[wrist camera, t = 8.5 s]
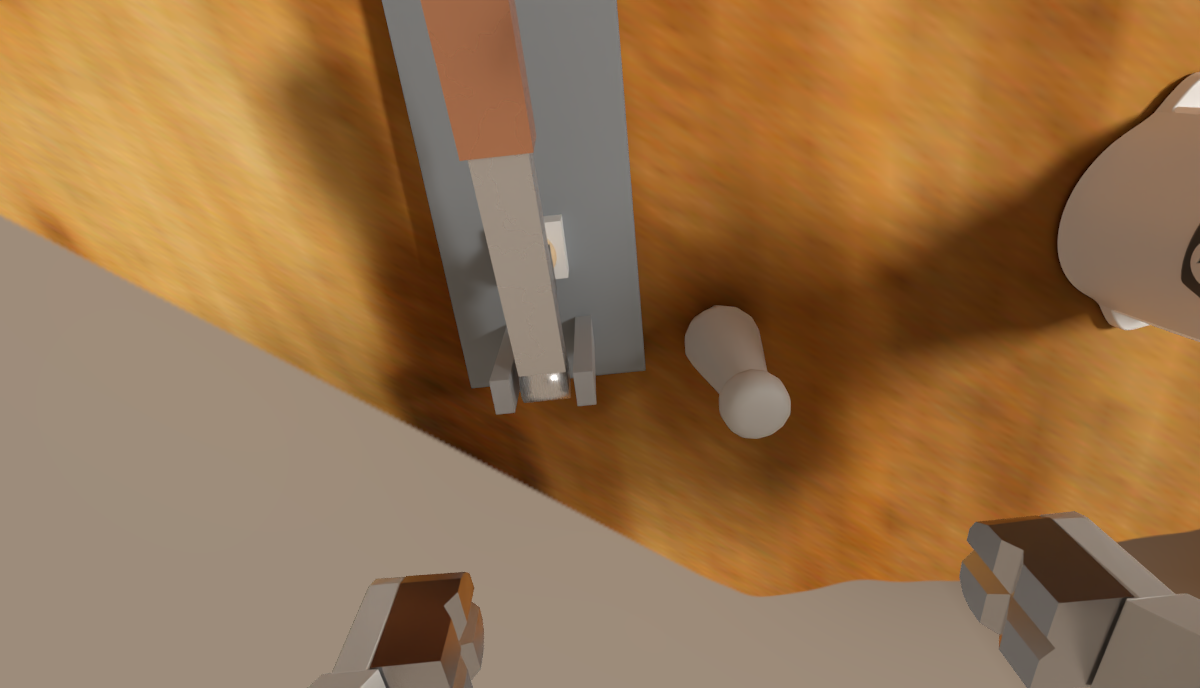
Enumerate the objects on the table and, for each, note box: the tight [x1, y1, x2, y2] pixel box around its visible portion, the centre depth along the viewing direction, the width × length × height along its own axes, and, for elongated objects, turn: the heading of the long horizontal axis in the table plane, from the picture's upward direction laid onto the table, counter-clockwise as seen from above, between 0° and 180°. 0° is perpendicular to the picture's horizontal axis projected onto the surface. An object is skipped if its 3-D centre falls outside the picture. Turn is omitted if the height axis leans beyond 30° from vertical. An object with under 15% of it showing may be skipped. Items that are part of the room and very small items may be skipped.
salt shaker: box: [685, 305, 791, 439], centre depth 40 cm, size 6×6×13 cm
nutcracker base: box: [382, 0, 646, 415], centre depth 36 cm, size 28×14×11 cm, turn 6°
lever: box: [420, 0, 571, 403], centre depth 31 cm, size 26×4×4 cm, turn 6°
